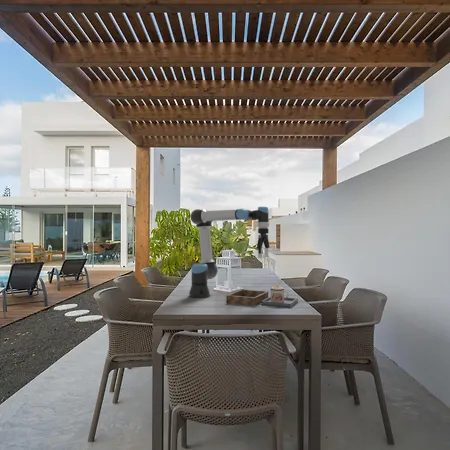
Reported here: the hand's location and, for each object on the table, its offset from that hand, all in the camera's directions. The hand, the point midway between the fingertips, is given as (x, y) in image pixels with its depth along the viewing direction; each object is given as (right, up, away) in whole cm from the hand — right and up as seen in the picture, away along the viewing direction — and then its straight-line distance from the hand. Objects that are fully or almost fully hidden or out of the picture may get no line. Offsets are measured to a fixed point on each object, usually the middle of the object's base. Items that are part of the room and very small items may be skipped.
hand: (263, 257), depth 247 cm
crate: (-12, -29, -11) cm, 33 cm away
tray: (+8, -28, -21) cm, 36 cm away
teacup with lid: (+8, -28, -21) cm, 36 cm away
